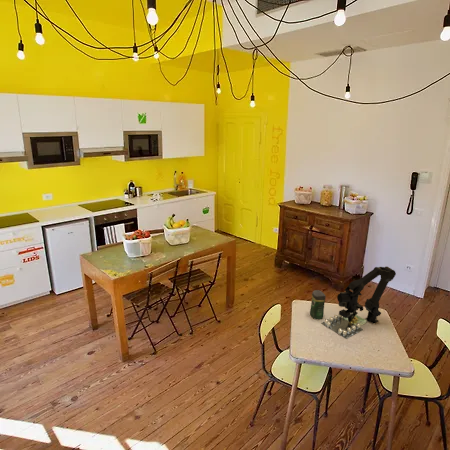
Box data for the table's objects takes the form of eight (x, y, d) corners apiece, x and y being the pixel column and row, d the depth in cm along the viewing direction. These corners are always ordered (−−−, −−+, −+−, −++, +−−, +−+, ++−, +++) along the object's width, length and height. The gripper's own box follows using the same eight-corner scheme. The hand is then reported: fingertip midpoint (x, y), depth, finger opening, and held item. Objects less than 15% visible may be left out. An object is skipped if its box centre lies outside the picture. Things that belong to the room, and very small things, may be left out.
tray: (350, 315, 236) (351, 312, 235) (366, 323, 227) (366, 320, 226) (342, 318, 231) (343, 315, 231) (358, 327, 222) (358, 324, 221)
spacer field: (337, 316, 234) (338, 310, 233) (363, 330, 219) (364, 325, 218) (320, 324, 224) (321, 318, 223) (345, 340, 209) (346, 334, 208)
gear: (352, 317, 232) (352, 314, 231) (359, 322, 227) (359, 318, 226) (346, 320, 229) (347, 317, 228) (353, 324, 224) (354, 321, 223)
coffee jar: (324, 319, 230) (327, 295, 224) (313, 320, 228) (316, 296, 223) (318, 312, 239) (321, 288, 233) (308, 312, 238) (310, 289, 232)
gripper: (351, 292, 232) (347, 312, 237) (333, 299, 222) (330, 320, 227) (365, 299, 224) (362, 319, 228) (348, 306, 213) (344, 328, 218)
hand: (349, 321), depth 225 cm, fingers closed
